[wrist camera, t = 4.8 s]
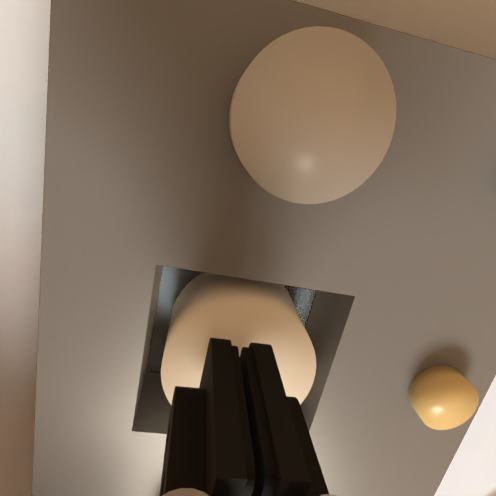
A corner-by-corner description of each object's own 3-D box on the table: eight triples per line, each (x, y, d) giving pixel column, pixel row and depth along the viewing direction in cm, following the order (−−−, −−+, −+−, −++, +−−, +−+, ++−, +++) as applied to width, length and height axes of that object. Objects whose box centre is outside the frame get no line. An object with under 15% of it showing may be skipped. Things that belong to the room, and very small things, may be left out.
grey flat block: (96, -18, 10) (17, -113, 6) (541, 104, 13) (706, 97, 9) (59, 491, 16) (8, 620, 12) (365, 508, 19) (409, 621, 15)
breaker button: (181, 254, 13) (173, 292, 10) (309, 275, 14) (334, 316, 11) (162, 366, 14) (151, 427, 12) (278, 379, 15) (294, 439, 12)
